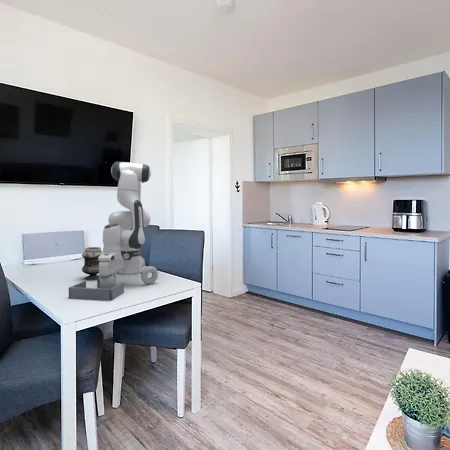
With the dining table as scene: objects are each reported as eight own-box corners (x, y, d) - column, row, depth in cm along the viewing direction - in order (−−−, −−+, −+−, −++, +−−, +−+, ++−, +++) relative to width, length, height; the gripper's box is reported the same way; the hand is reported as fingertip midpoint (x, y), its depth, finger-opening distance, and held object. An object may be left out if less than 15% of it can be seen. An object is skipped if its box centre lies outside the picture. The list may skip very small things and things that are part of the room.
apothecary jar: (96, 281, 183) (95, 249, 182) (77, 280, 185) (76, 248, 184) (108, 276, 195) (107, 246, 193) (90, 275, 197) (89, 246, 196)
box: (84, 290, 164) (84, 280, 164) (123, 292, 161) (123, 282, 161) (68, 298, 151) (68, 287, 151) (111, 300, 148) (111, 289, 148)
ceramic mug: (116, 290, 164) (116, 275, 164) (99, 292, 160) (99, 277, 159) (112, 286, 173) (111, 272, 173) (95, 288, 169) (95, 273, 168)
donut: (142, 286, 173) (142, 267, 173) (139, 285, 176) (139, 266, 175) (159, 283, 180) (159, 265, 179) (156, 282, 183) (156, 264, 182)
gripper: (115, 251, 181) (116, 276, 182) (96, 258, 161) (96, 285, 162) (126, 252, 180) (126, 276, 181) (108, 258, 160) (108, 286, 161)
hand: (112, 281), depth 171 cm, fingers closed
